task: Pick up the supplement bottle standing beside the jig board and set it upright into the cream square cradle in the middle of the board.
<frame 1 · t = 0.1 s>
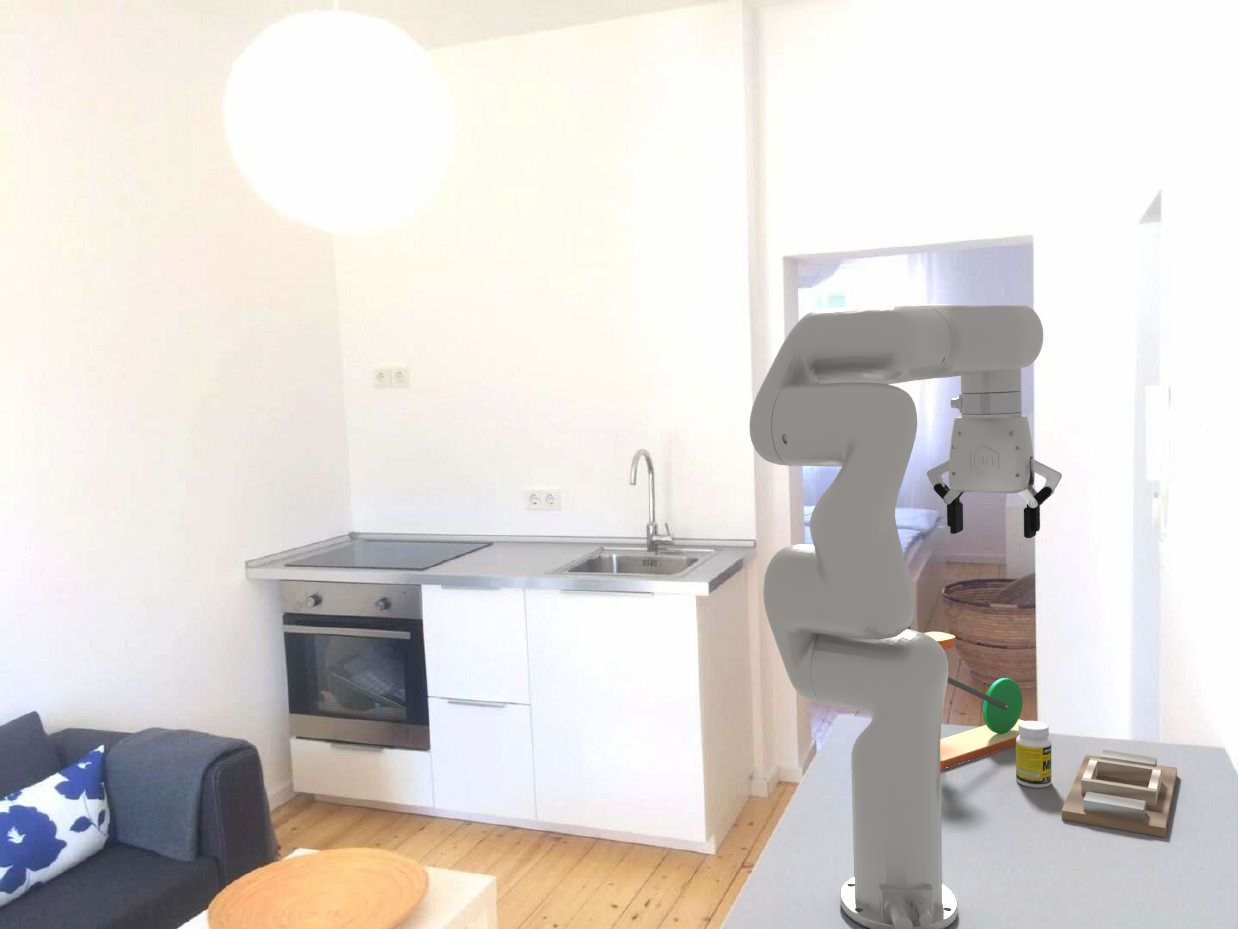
hand: (992, 534, 138), 37 cm above the table, tool pointing down, fingers open, 9 cm apart
crank mechanism: (976, 748, 163), on the table
supplement bottle: (1033, 783, 148), on the table
jig board: (1121, 796, 142), on the table
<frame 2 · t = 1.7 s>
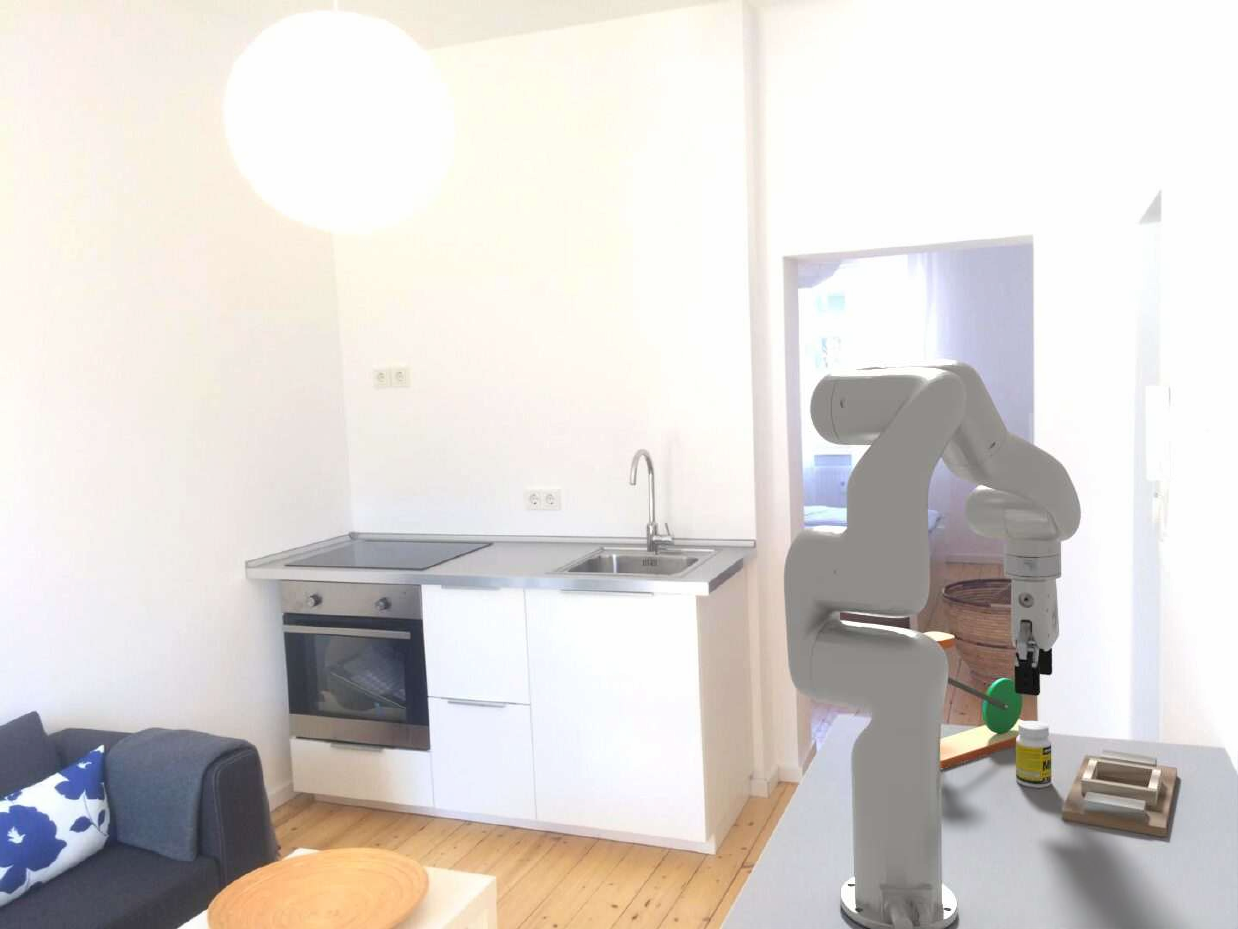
hand: (1034, 683, 147), 14 cm above the table, tool pointing down, fingers open, 9 cm apart
nothing on the table moved.
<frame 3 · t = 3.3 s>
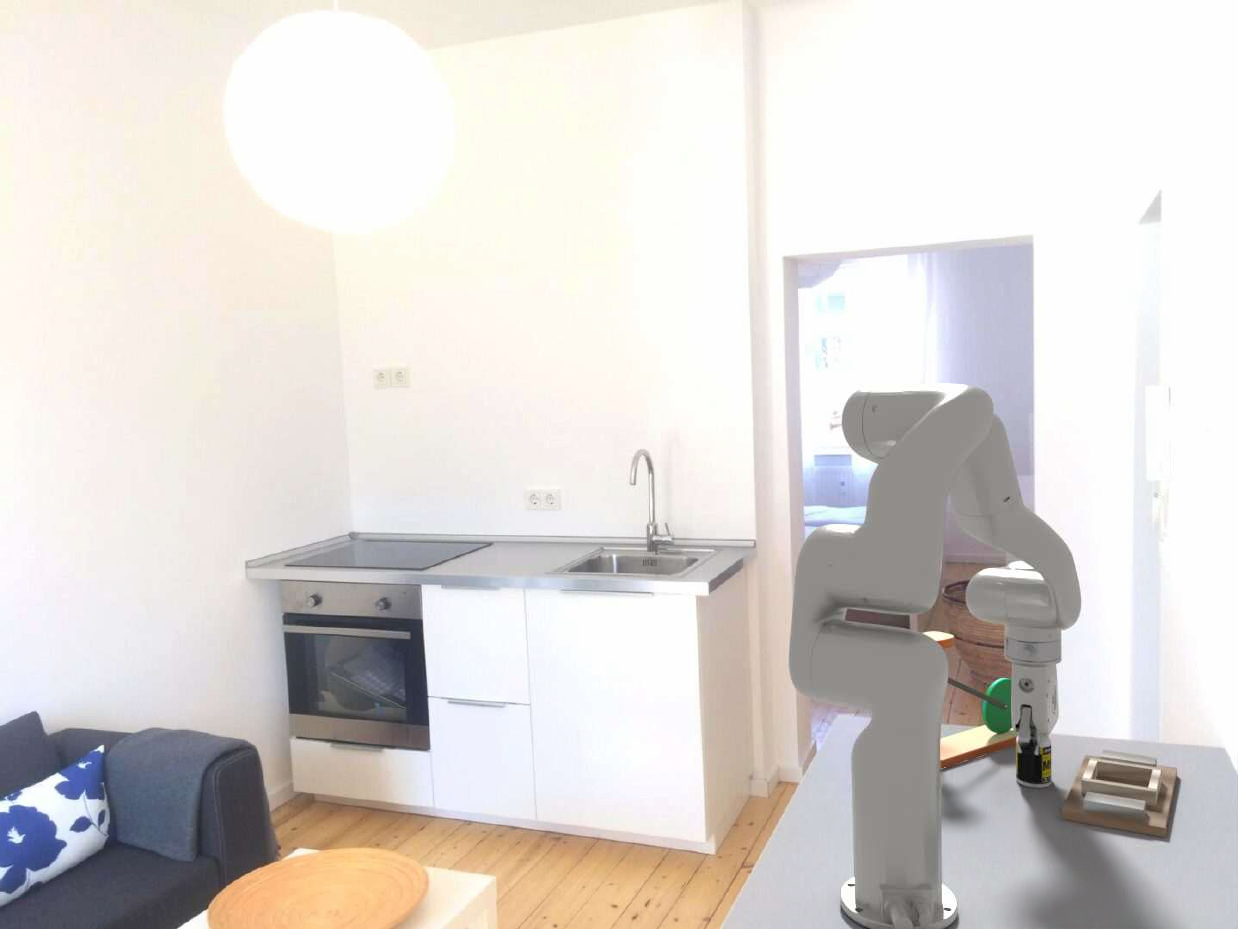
hand: (1033, 772, 148), 1 cm above the table, tool pointing down, fingers closed on supplement bottle, 4 cm apart
supplement bottle: (1033, 783, 148), on the table, touching gripper
everything else where it was.
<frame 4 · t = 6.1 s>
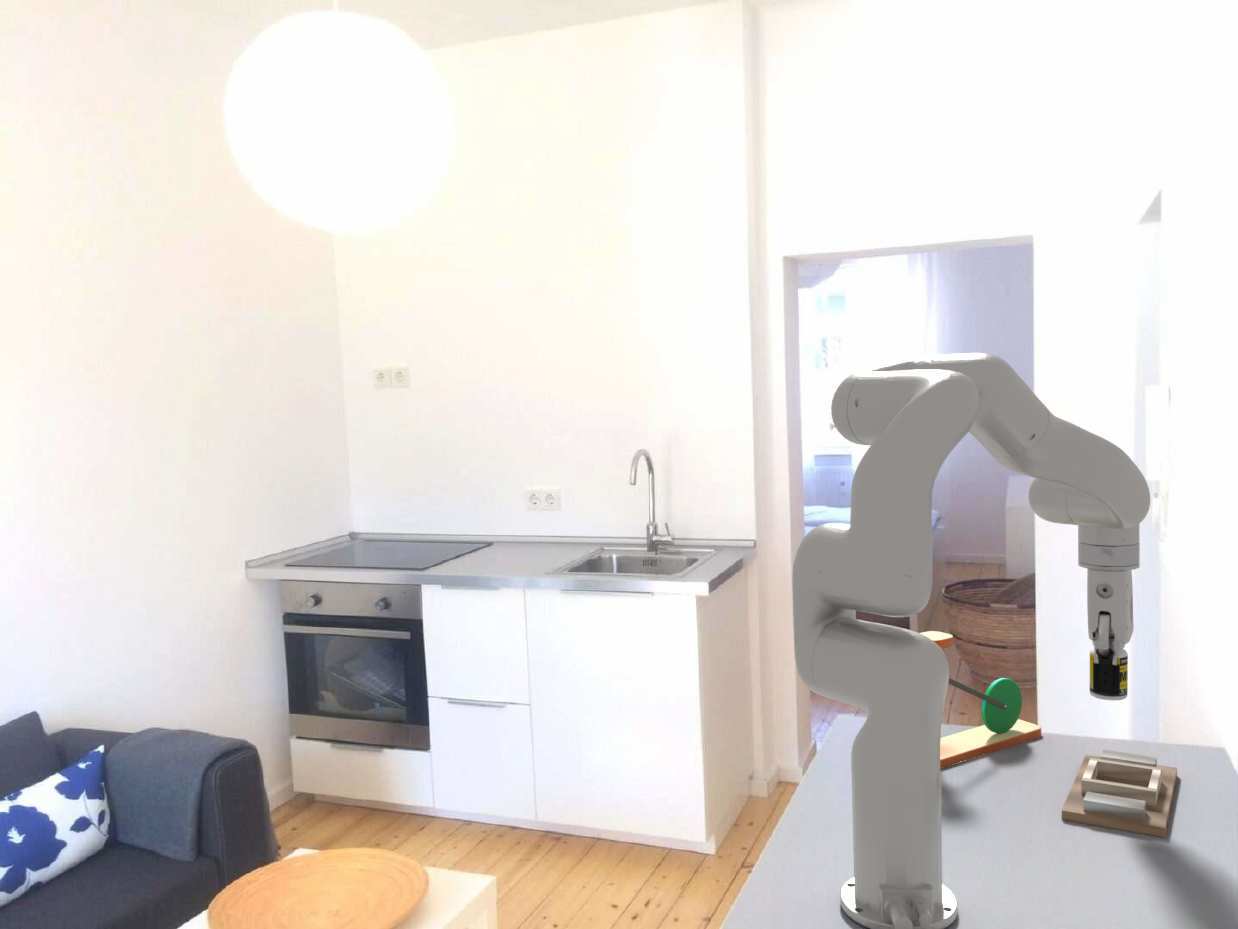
hand: (1108, 685, 141), 15 cm above the table, tool pointing down, fingers closed on supplement bottle, 4 cm apart
supplement bottle: (1108, 697, 141), point 14 cm above the table, touching gripper
everything else where it was.
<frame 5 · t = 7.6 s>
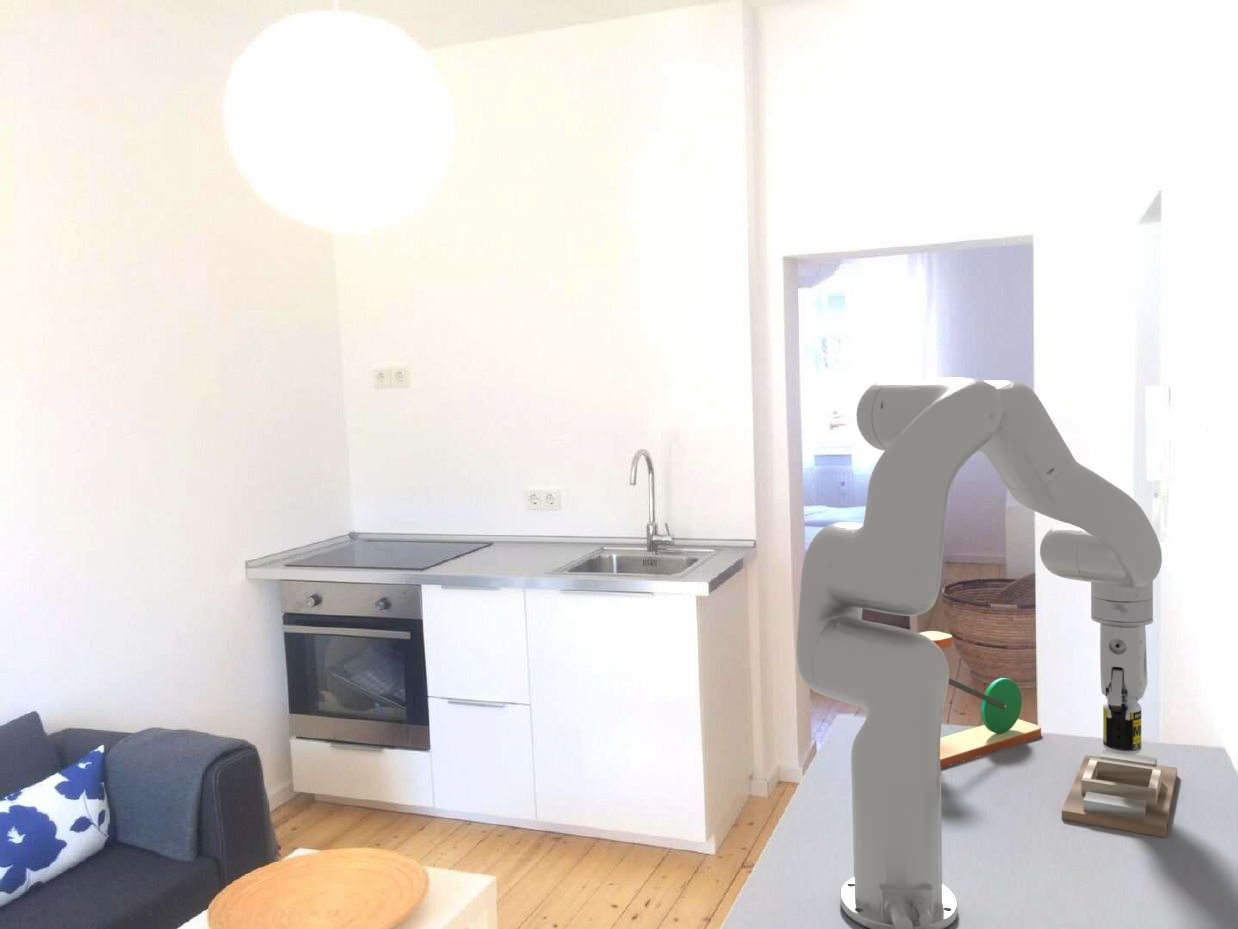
hand: (1122, 739, 141), 8 cm above the table, tool pointing down, fingers closed on supplement bottle, 4 cm apart
supplement bottle: (1122, 750, 141), point 6 cm above the table, touching gripper
everything else where it was.
when the fingers open (4 cm above the table, at t = 8.7 s): supplement bottle drops 2 cm, resting on jig board.
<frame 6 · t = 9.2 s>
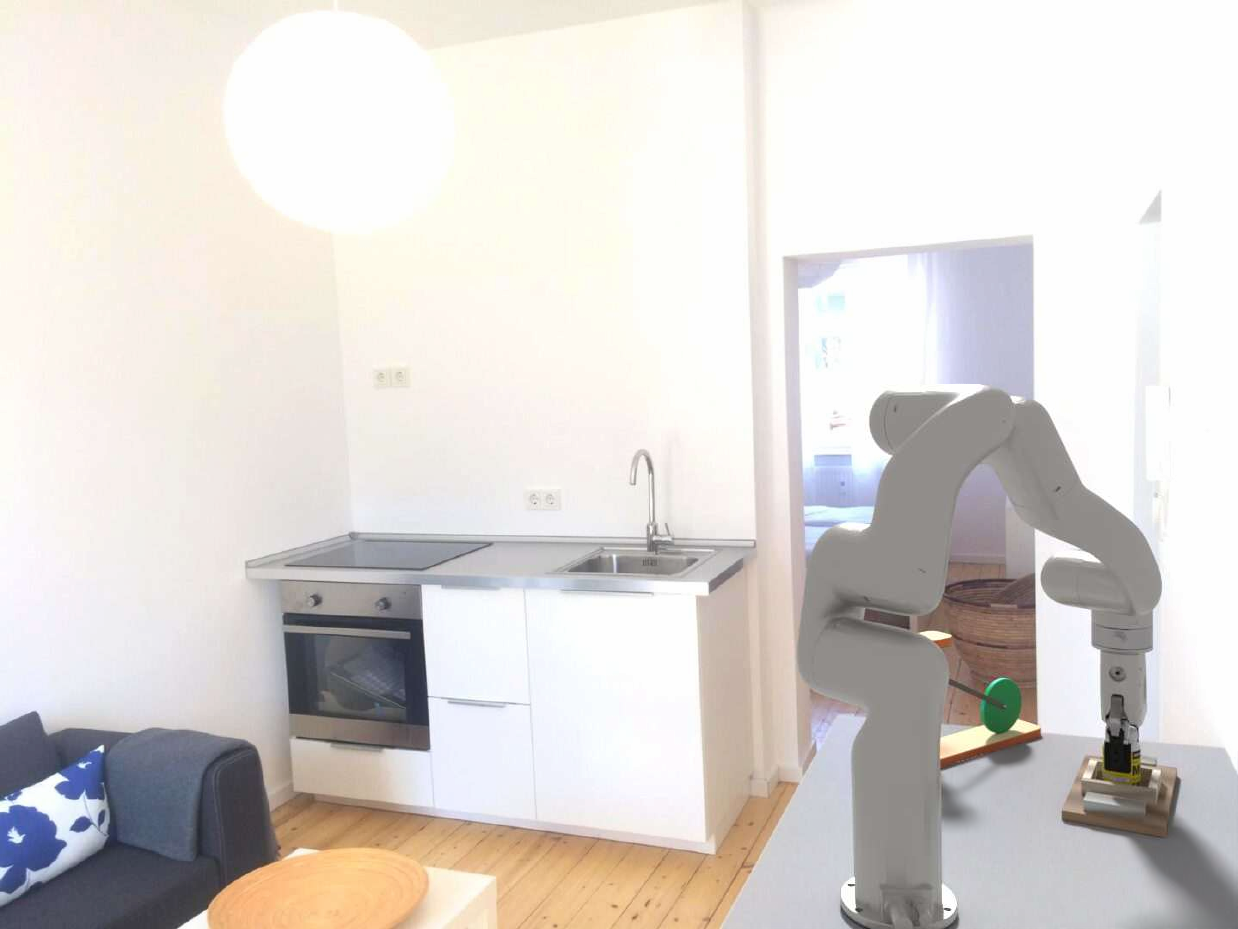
hand: (1121, 759, 141), 5 cm above the table, tool pointing down, fingers open, 9 cm apart
supplement bottle: (1121, 789, 142), point 1 cm above the table, touching jig board
everything else where it was.
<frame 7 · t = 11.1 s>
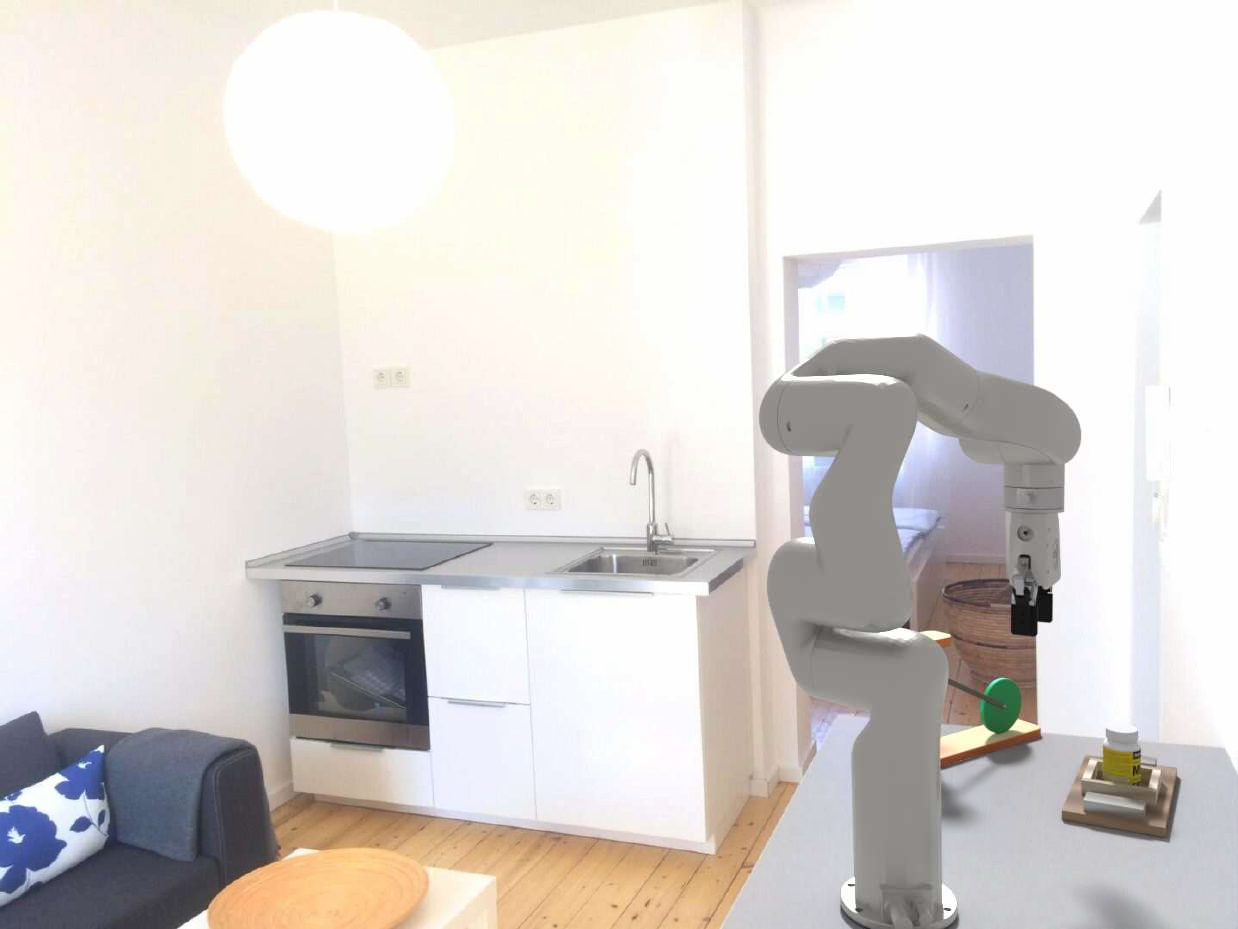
hand: (1032, 628, 138), 25 cm above the table, tool pointing down, fingers open, 9 cm apart
nothing on the table moved.
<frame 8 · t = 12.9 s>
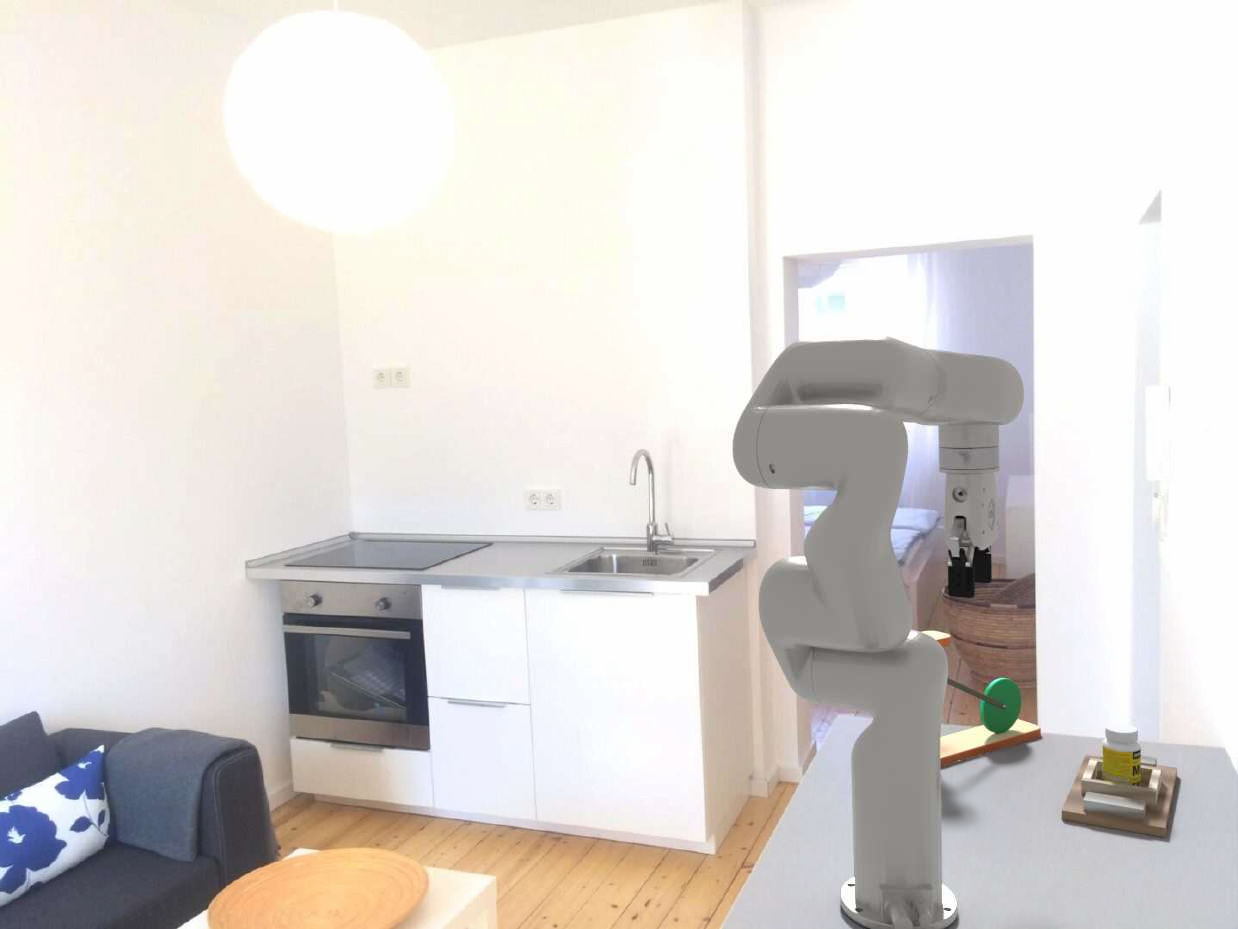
hand: (970, 589, 137), 30 cm above the table, tool pointing down, fingers open, 9 cm apart
nothing on the table moved.
at the end: supplement bottle 0.1 cm from the jig board (horizontally); supplement bottle point 1.0 cm above the table; supplement bottle tilted 0° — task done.
